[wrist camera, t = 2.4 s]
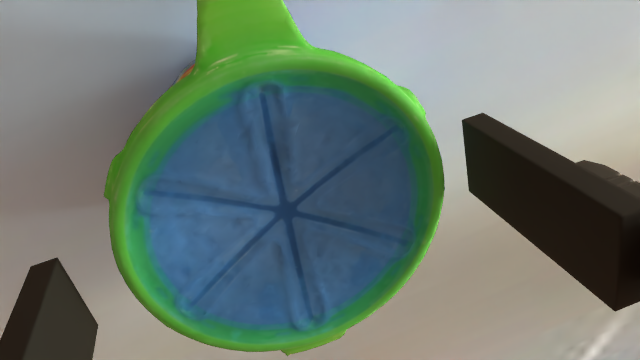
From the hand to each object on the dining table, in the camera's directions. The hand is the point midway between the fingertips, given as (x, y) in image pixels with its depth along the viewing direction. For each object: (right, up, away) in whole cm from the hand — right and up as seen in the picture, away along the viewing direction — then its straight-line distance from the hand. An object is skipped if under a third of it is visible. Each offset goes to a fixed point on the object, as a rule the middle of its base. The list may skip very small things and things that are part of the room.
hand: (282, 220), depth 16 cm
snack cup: (-2, +4, +9) cm, 10 cm away
